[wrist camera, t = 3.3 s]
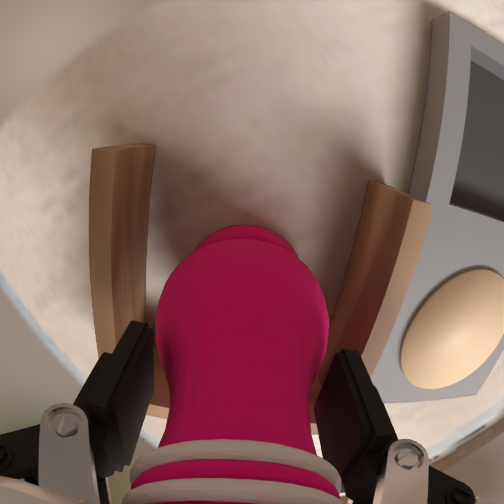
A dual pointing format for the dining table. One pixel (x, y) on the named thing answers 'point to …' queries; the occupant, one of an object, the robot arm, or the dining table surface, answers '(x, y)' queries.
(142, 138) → the dining table surface
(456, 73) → the gray portable music player
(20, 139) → the dining table surface
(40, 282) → the dining table surface
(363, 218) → the wooden u-shaped frame
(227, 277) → the pepper mill
